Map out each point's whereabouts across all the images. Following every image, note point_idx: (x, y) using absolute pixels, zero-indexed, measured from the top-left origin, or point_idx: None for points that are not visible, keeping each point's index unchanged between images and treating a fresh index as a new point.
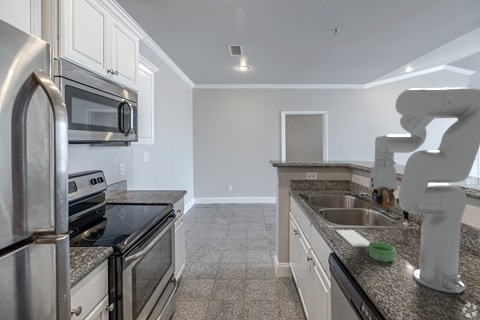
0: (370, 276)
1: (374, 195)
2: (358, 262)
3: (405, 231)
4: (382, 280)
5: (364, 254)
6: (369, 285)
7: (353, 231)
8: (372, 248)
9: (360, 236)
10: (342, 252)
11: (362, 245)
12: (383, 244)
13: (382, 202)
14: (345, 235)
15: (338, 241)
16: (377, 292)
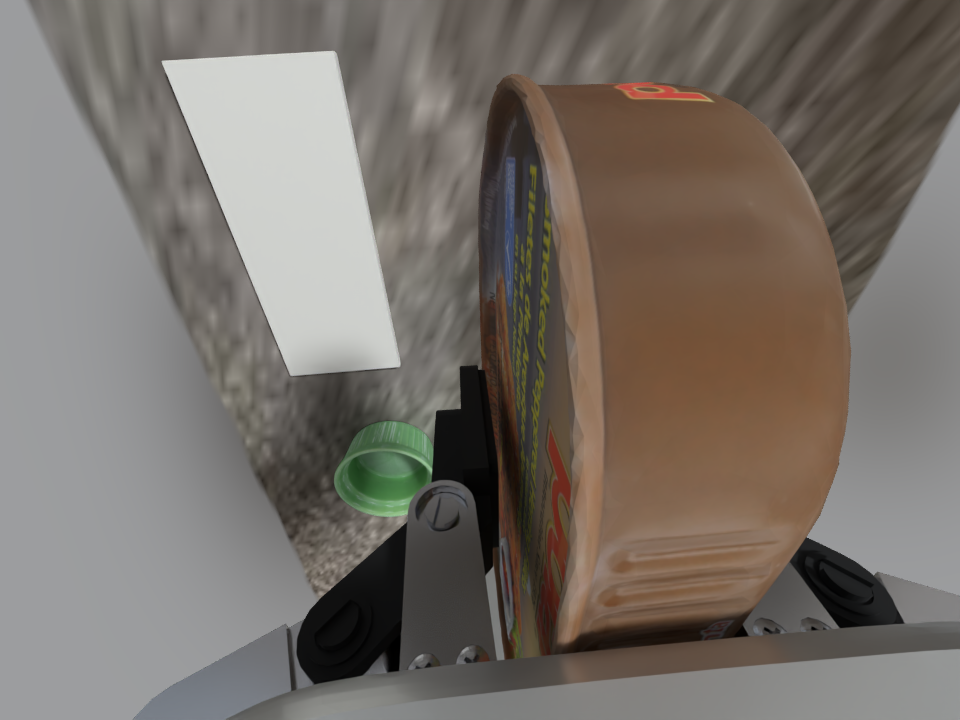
0: (320, 545)
1: (519, 209)
2: (298, 489)
3: (808, 17)
4: (347, 555)
5: (333, 435)
6: (308, 572)
7: (327, 97)
8: (343, 498)
9: (360, 228)
10: (240, 428)
11: (339, 370)
12: (409, 455)
13: (501, 460)
14: (253, 216)
15: (213, 305)
16: (320, 587)
